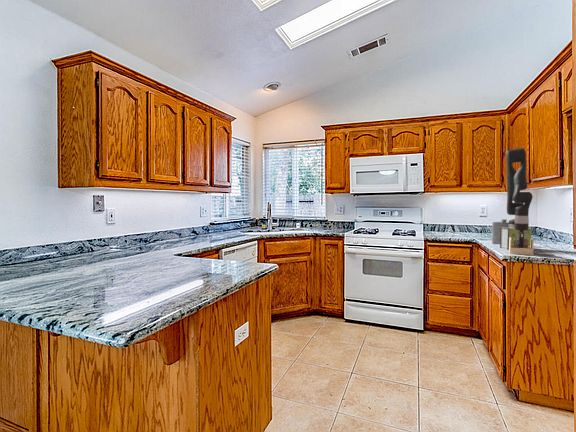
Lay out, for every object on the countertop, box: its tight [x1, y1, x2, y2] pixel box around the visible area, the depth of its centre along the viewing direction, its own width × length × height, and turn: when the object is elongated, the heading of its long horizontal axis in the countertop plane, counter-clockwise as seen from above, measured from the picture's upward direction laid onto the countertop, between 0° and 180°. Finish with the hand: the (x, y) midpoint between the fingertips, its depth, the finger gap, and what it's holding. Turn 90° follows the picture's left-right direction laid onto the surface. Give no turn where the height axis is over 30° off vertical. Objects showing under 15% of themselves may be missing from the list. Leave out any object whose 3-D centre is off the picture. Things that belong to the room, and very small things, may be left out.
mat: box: [535, 252, 556, 257], centre depth 208 cm, size 10×9×1 cm
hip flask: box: [491, 218, 509, 245], centre depth 261 cm, size 16×4×20 cm, turn 49°
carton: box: [508, 237, 534, 256], centre depth 215 cm, size 13×12×10 cm
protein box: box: [499, 227, 532, 251], centre depth 233 cm, size 10×15×16 cm
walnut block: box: [514, 239, 528, 249], centre depth 215 cm, size 5×7×9 cm
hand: (520, 248), depth 215 cm, fingers closed on walnut block, 5 cm apart
